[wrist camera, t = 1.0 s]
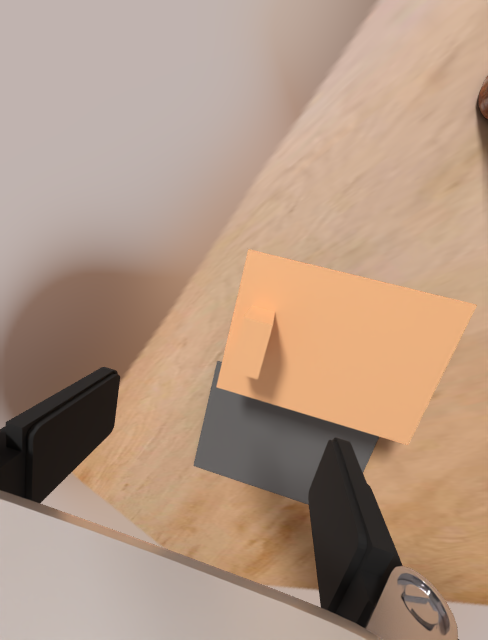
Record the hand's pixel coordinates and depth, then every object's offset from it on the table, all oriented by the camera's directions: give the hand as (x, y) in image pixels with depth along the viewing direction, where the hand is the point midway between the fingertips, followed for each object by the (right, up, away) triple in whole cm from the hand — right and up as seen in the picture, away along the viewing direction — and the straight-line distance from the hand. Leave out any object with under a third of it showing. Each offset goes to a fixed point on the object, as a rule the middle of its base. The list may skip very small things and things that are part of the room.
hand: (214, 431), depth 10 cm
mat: (+7, -14, +29) cm, 33 cm away
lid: (+11, +2, +18) cm, 21 cm away
